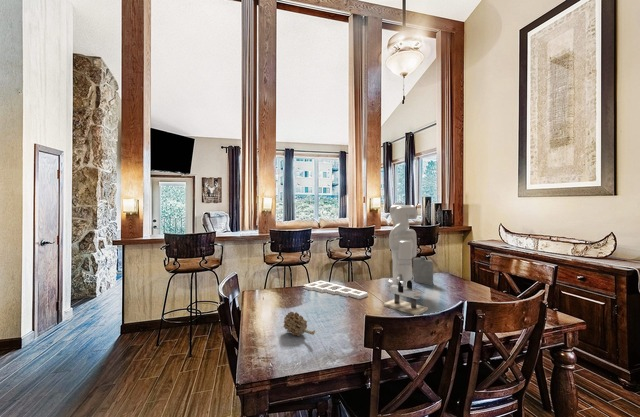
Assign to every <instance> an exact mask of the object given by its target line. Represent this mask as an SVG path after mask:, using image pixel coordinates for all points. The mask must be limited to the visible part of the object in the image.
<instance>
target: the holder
mask: <svg viewBox="0 0 640 417" xmlns="http://www.w3.org/2000/svg"><path fill="white" fill-rule="evenodd" d="M303 286H305V287H303V289H305V290H308V291H317V292H320V293H327V292H328V294H331V295H334V294H335V295H339V296H343V297H345V298H347V297H352V298H354V299H358V300H362V299H364V298H366V297H368V296H369V293H368V292H366V291H363V290H359V289H356V288H351V287H348V286H344V285H340V284H337V283H331V282H328V281H324V280H318V281H314V282H310V283H305V284H303ZM335 288H337V289H335ZM332 289H333V290H332Z"/></svg>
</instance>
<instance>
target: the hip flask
mask: <svg viewBox="0 0 640 417" xmlns="http://www.w3.org/2000/svg"><path fill="white" fill-rule="evenodd" d="M412 261H413V262H412V263H413V264H412V265H413V266H412V274H414V275H413V280H412V281H413V282H415V283H419V284H420V283H421V284H425V285H430V286H432V285H434V261H433V260H430V259H429V260H428V259H426V256H420V257H419V258H416V257H414V258H412Z"/></svg>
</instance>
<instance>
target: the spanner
mask: <svg viewBox="0 0 640 417" xmlns="http://www.w3.org/2000/svg"><path fill="white" fill-rule="evenodd" d="M390 293H391V294H398V295H400V296H402V297H406V298H407V297H408V298H410V299H411V298H414V299H416V300H419V299H421V298H423V296H422V294H423V292H422V291H421V290H419V289H414V288H412V289H411V288H406V287H403V293H400V292H398V286H397V285H392V286H391V285H390V286H389V294H390Z"/></svg>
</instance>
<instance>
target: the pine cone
mask: <svg viewBox="0 0 640 417" xmlns="http://www.w3.org/2000/svg"><path fill="white" fill-rule="evenodd" d="M283 323H284V324H283V328H284V329H285V330H286V332H287V333H289V334H292V335H293V336H297V337H301V336H302V334H303V335H304V333H306V334H309V335H312V336H314V335H315V333H316V330H308V329H307V328H308V320H306V319H305V318H304V316H302V315H300V314H299V312H294V311H289V312H287V314H285V317H284V319H283Z"/></svg>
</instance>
